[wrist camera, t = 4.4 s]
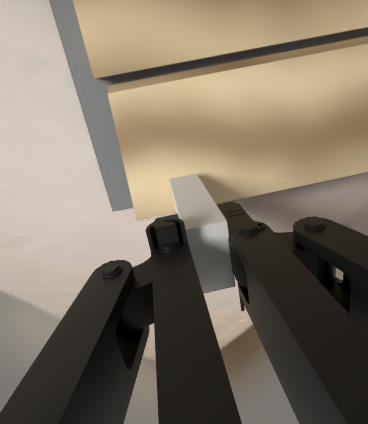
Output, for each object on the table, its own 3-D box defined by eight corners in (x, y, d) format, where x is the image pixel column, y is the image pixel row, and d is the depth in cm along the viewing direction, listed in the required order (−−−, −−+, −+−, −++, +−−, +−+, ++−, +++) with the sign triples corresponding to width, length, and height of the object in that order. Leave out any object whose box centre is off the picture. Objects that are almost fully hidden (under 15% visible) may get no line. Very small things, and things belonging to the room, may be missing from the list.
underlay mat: (9, -136, 13) (6, -140, 13) (427, -201, 14) (432, -206, 14) (113, 209, 20) (112, 211, 20) (386, 152, 21) (390, 153, 21)
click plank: (108, 87, 17) (104, 81, 16) (393, 33, 18) (408, 24, 17) (138, 218, 18) (136, 221, 17) (406, 161, 19) (421, 160, 18)
